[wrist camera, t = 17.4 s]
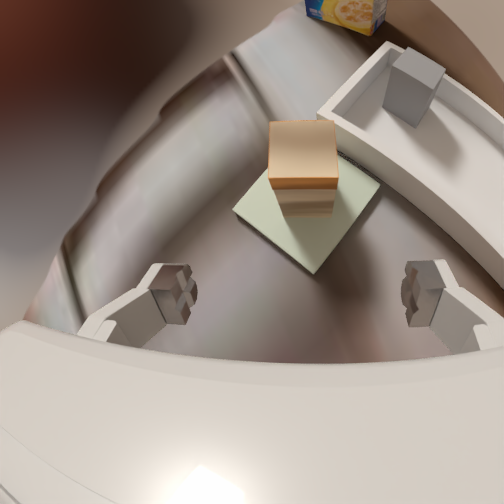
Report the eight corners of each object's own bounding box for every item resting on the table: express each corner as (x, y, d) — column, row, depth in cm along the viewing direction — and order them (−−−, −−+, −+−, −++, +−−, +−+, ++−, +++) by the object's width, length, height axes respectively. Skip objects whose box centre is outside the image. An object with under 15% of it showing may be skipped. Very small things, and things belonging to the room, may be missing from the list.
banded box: (331, 218, 26) (338, 177, 18) (283, 218, 27) (267, 178, 19) (330, 173, 27) (333, 120, 18) (283, 173, 28) (269, 121, 19)
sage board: (313, 274, 27) (313, 273, 26) (234, 212, 29) (232, 209, 28) (378, 188, 27) (380, 184, 26) (300, 136, 29) (300, 131, 28)
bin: (513, 301, 21) (537, 299, 17) (317, 137, 29) (316, 112, 25) (547, 198, 21) (566, 187, 17) (382, 64, 29) (386, 40, 25)
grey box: (415, 129, 26) (433, 89, 19) (381, 107, 27) (392, 65, 20) (429, 107, 26) (446, 69, 19) (397, 87, 27) (408, 46, 20)
